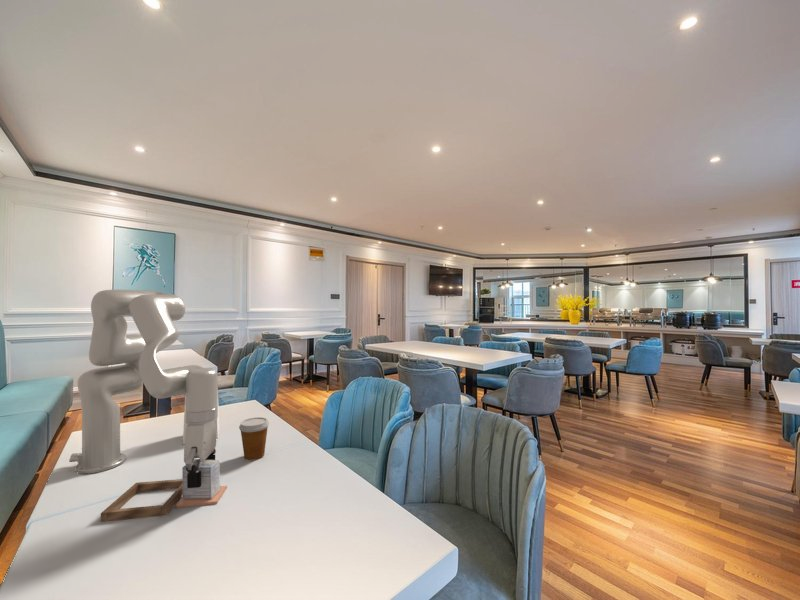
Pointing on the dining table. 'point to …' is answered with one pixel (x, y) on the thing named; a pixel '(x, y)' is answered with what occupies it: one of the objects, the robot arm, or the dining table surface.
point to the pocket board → (149, 511)
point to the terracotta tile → (196, 502)
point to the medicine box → (203, 481)
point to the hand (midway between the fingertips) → (202, 477)
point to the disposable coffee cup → (254, 437)
